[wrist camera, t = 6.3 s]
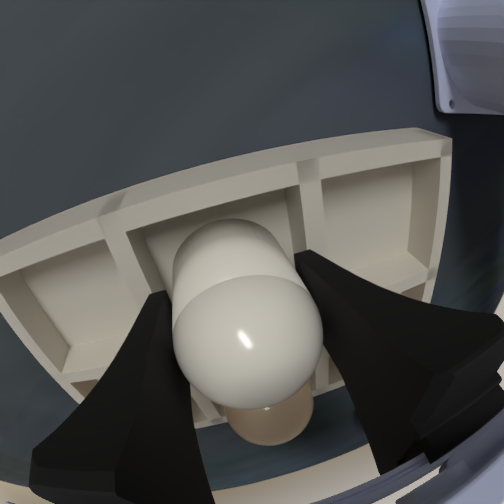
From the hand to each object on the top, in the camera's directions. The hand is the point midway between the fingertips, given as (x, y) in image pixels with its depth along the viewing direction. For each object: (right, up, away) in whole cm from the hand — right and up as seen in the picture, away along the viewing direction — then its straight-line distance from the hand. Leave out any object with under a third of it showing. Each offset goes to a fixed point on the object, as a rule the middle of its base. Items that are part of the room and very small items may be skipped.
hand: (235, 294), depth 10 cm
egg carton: (0, -1, +5) cm, 5 cm away
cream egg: (0, +1, +1) cm, 2 cm away
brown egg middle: (+1, -4, +6) cm, 7 cm away
